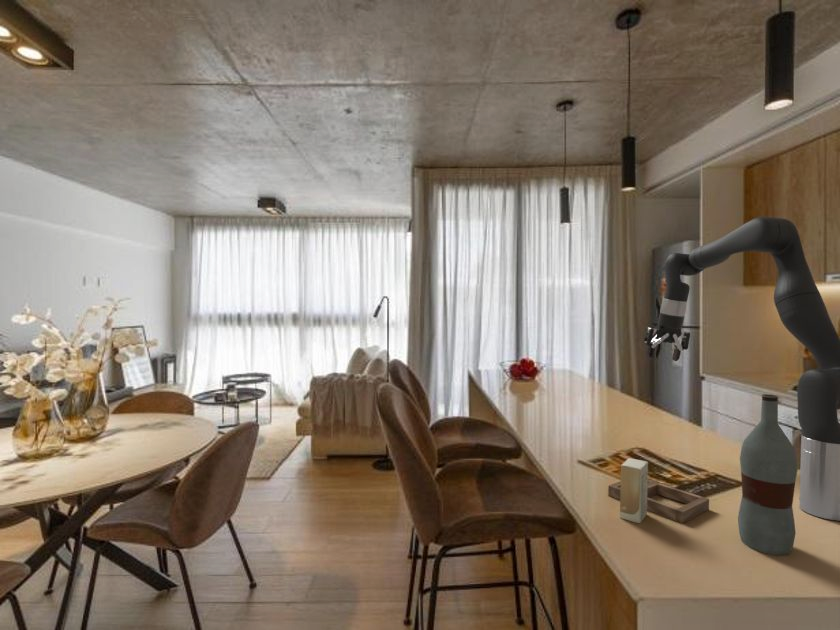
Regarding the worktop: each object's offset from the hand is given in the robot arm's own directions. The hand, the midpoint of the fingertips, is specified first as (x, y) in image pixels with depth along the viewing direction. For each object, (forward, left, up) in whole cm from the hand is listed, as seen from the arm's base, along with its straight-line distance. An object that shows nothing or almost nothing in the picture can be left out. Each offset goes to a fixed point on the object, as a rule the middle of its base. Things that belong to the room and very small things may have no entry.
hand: (662, 359), depth 164 cm
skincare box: (-26, +62, -29) cm, 73 cm away
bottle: (-48, +52, -29) cm, 77 cm away
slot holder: (-25, +50, -29) cm, 63 cm away
